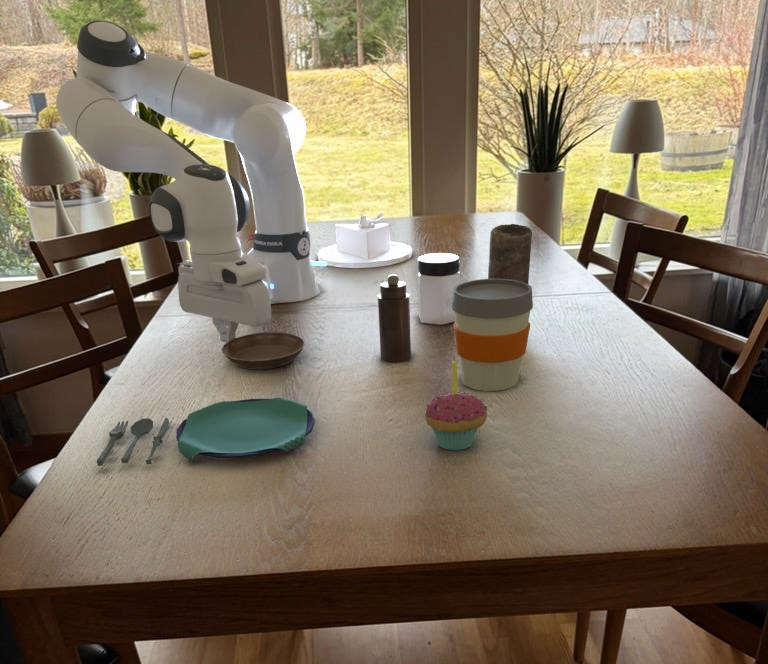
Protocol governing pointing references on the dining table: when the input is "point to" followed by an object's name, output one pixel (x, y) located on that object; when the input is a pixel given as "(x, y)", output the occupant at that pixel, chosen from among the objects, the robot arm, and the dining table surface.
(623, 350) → the dining table surface
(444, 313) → the jar
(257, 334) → the saucer
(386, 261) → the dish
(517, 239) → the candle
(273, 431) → the cutlery set
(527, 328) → the reusable coffee cup
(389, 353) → the pepper mill
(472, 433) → the cupcake
